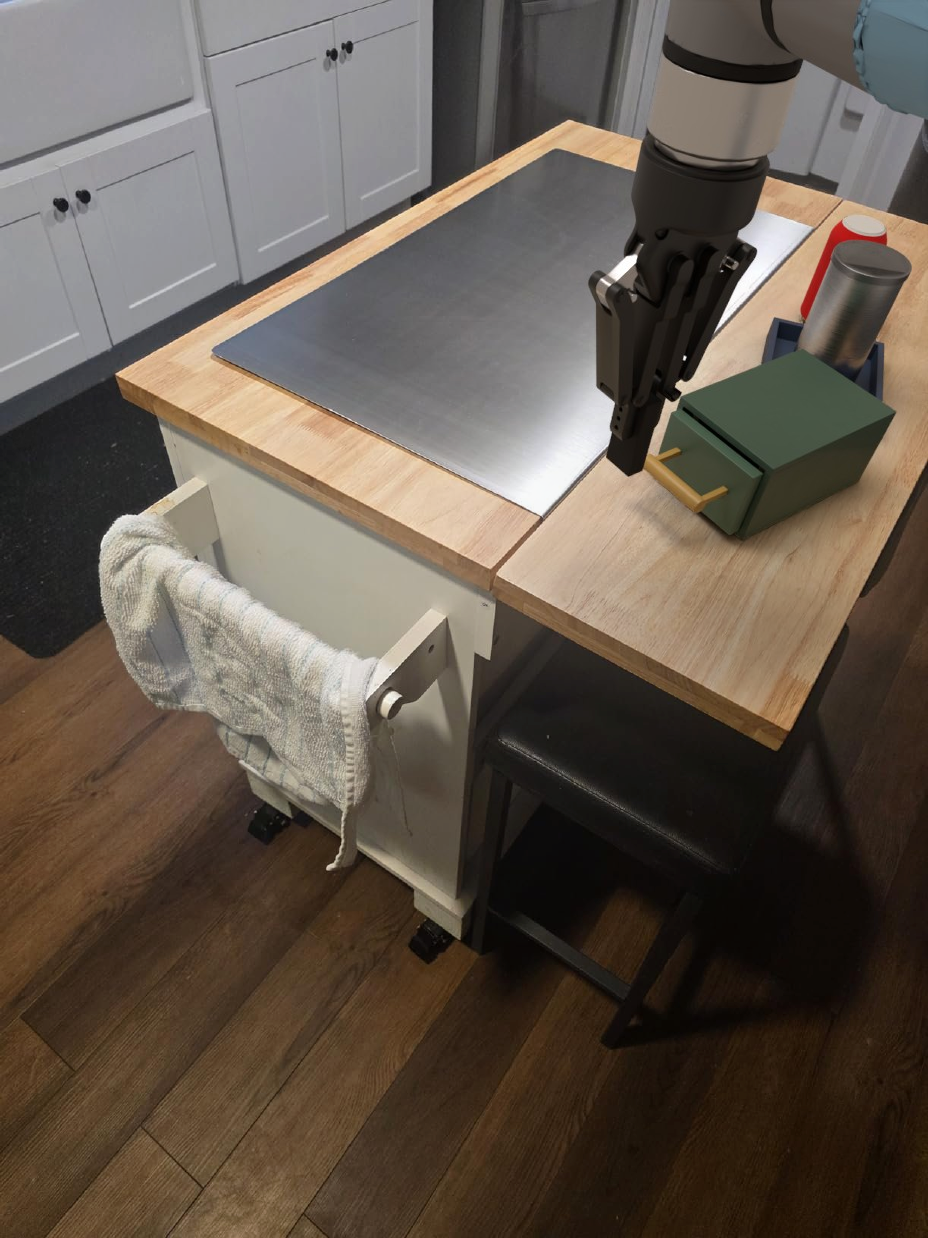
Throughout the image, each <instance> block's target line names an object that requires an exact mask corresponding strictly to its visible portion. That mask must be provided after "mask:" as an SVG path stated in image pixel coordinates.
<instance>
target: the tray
mask: <svg viewBox="0 0 928 1238" xmlns="http://www.w3.org/2000/svg"><path fill="white" fill-rule="evenodd" d="M804 324H805V323H801V322H797V321H793V320H789V319H784V318H780V317H776V316H774V317H773V319H772V322H771V324H770V326H769V329H768V332H767V334H766V337H765V342H764V347H763V352H762V358H761V362H760V365H762V364H764V363H767V362H769V361H772V360H774V359H777V358H780V357H782V356H785V355H787V354H790V353H792V352H793V351H794V348H795V346H796V344H797V341H798V339H799V336H800V334H801V331H802V329H803V327H804ZM884 369H885V343H884V342H882V341H878V340H876V341H875V343H874V345H873V347H872V349H871V351H870V353H869V355H868V357H867V359H866V361H865V363H864V365H863V367H862V369H861V371H860V373H859V375H858V377H857V379H856V381H855V384H856V385H858V386H859V387H861V388H862V389H864V390H865V391H867V392H868V393H870V394H871V395H873V396H874V397H876V398H877V399H879V400H880V401H882V402H883V403H884V373H885V371H884Z"/></svg>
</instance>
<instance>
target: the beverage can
mask: <svg viewBox="0 0 928 1238" xmlns="http://www.w3.org/2000/svg"><path fill="white" fill-rule="evenodd" d="M849 240H865V241H871V242H876V243H880V244H883V245H886V246H888V233H887V227H886V226H885V225H884V224H883V222H881V221H880V220H878V219H877V218H875V217H872V216H868V215H864V214H850V215H848V216H844V217H843V218H842V219H840V221H839V222H838V223H836V224H835V225H834V227H833V228H832V229H831V230H830V233H829V235H828V238H827V240H826V242H825V245H824V248H823V251H822V253H821V255H820V258H819V260H818V262H817V265H816V267H815V270H814V272H813V276H812V278H811V280H810V283H809V285H808V288H807V291H806V292H805V294H804V298H803V299H802V302H801V305H800V309H799V311H800V312H799V313H800V315H801V318H802V319H803V321H805V322H806V319H807V317H808V315H809V312H810V310H811V307H812V305H813V302H814V300H815V298H816V295H817V293H818V290H819V288H820V285H821V283H822V281H823V278H824V276H825V273H826V271H827V268H828V266H829V264H830V261H831V255H832V252H833V250H834V248H835V246H836V245H837V244H839V243H841V242H844V241H849Z"/></svg>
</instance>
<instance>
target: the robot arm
mask: <svg viewBox="0 0 928 1238" xmlns="http://www.w3.org/2000/svg"><path fill="white" fill-rule="evenodd" d="M663 36H664V37H663V41H662V49H661V51H660V57H659V61H658V65H657V70H656V75H655V80H654V85H653V88H652V89H653V90H652V94H651V99H650V104H649V109H648V114H647V119H646V122H645V125H646V128H647V130H648V132H649V133H648V135H647V136H645V137H644V138H643V140H642V141H641V144H640V147H639V148H640V149H639V153H638V158H637V163H636V167H635V172H634V177H633V182H632V187H631V192H630V197H631V198H630V199H631V202H632V208H633V210H634V216H635V221H634V222H635V223H634V226H633V229H632V231H631V233H630V235H629V237H628V238H627V239H626V242H625V243H624V247H623V259H621V261H620V262H618V263H617V265H615V267H613V268H612V269H611V270H610V271H609V272H608V273H606V272H603V271H602V270H599V269H598V270H595V271H594V272H593V273H592V274H590V276H589V278H588V282H587V285H588V286H587V287H588V288H589V291H590V293H591V295H592V298H593V300H594V302H595V374H596V375H595V386H596V388H597V389H598V390H599V391H600V392H601V393H602V394H603V395H605V396H606V397H607V398H608V399H610V400H611V401H612V402H613V403H614V405H613V410H612V414H611V418H610V419H611V420H610V422H609V431H610V432H611V434H610V438H609V442H608V446H607V449H606V455H605V458H606V459H607V460H608V461H609V462H610V463H611V464H613V466H615V468H617V469H618V470H620V472H621V473H623V474H624V475H625V476H626V477H628V478H629V477H632V476H634V475H637V474H639V473H641V472H643V470H644V469H643V467H644V464H645V460H646V457H647V455H648V454H649V450H650V446H651V442H652V439H653V436H654V432H655V429H656V428H657V426H658V424H659V422H660V420H661V418H662V413H663V410H664V407H665V403H666V400H667V401H669V402H670V403H675V402H676V401H679V400H680V397H681V396H682V394H683V392H682V391H681V390H680V389H678V388H677V387H676V386H677V383H679V382H680V381H682V382H683V383H687V382H689V381H691V380H692V378H694V376H695V374H696V372H697V370H698V368H699V366H700V364H701V361H702V359H703V358H704V355H705V354H706V351H707V349H708V347H709V344H710V343H711V340H712V338H713V336H714V334H715V333H716V329H717V328H718V326H719V324H720V321H721V320H722V317H723V315H724V313H725V311H726V309H727V307H728V306H729V303H730V300H731V298H732V296H733V295H734V293H735V290H736V288H737V285H738V284H739V282H740V281H741V280H742V278H743V276H744V275H745V274H746V273H747V270H749V268H750V266H751V265H752V264H753V262H754V261H755V259H756V257H757V255H758V249H757V247H755V246H753V245H752V244H750V243H749V242H747V241H745V240H744V239H741V238H740V237H738V236H739V232H740V231H741V230H743V229H745V228H746V227H747V226H748V225H749V224H750V223H751V222H752V220H753V219H754V218H755V213H756V212H757V208H758V205H759V202H760V199H761V195H762V192H763V189H764V187H765V183H766V179H767V177H768V174H769V171H770V166H771V162H770V159H769V157H768V155H769V154H771V153H772V152H774V151H775V149H776V148H777V146H778V145H779V142H780V139H781V137H782V133H783V129H784V126H785V122H786V119H787V117H788V113H789V110H790V106H791V104H792V103H791V102H792V99H793V96H794V93H795V90H796V87H797V83H798V80H799V77H800V74H801V69H802V66H803V63H804V61H805V62H807V63H809V64H811V65H813V66H815V67H817V68H818V69H820V70H823V71H825V72H826V73H828V74H830V75H832V76H834V77H836V78H838V79H840V80H842V81H844V82H845V83H847V84H849V85H851V86H853V87H855V88H856V89H858V90H861V91H862V92H864V93H866V94H868V95H870V96H872V97H873V99H874V100H875V101H876V102H877V103H878V104H880V105H886V106H887V107H888V109H889V110H892V111H893V112H895V113H896V112H897V113H900V114H904V115H909V114H910V115H912V116H916V117H918V118H921V119H924V120H926V121H928V0H670V5H669V10H668V14H667V20H666V25H665V29H664V35H663Z"/></svg>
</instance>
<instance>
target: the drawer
mask: <svg viewBox="0 0 928 1238" xmlns="http://www.w3.org/2000/svg"><path fill="white" fill-rule="evenodd" d="M643 470H644V471H645V472H646V473H647V474H649V476H651V477H652V478H654V480H656V481H657V482H658V483H659V484H660V485H661V486H663V487H664V488H665V489H666V490H667V491H668V492H670V493H671V494H672V495H673V496H674V497H675V498H677V500H678V501H680V502H681V503H682V504H683V505H685V506H686V507H687V508H688V509H689V510H690V511H692V512H693V513H694V514H698V513H700V512H701V513H703V515H705V516H706V517H707V518H708V519H709V520H711V521H712V522H713V523H714V524H715V525H716V526H718V527H719V528H720V529H721V530H722V531H724V533H726V534H727V535H728V536H731V535H733V534H734V533H735V532H737V531H738V530H739V528H740V526H741V523H742V521H743V520H744V518H745V516H746V514H747V512H748V509H749V507H750V505H751V502H752V500H753V498H754V496H755V493H756V491H757V489H758V486H759V484H760V482H761V480H762V477H763V475H764V473H765V470H764V469H763V468H761V467H760V466H759V465H758V464H756V463H755V462H754V461H753V460H751V459H750V458H749V457H747V456H746V455H745V454H744V453H742V452H741V451H740V450H739V449H737V448H736V447H735V446H733V445H732V444H731V443H730V442H728V441H727V440H726V439H725V438H723V437H722V436H721V435H719V434H718V433H717V432H716V431H714V430H713V429H712V428H711V427H709V426H708V425H707V424H705V423H704V422H703V421H702V420H700V419H699V418H698V417H697V416H695V415H694V414H693V416H692V417H691V416H689V415H688V414H687V413H685V412H684V411H683V410H682V409H678V410H674V411H671V412H670V414H669V417H668V422H667V424H666V427H665V431H664V434H663V438H662V441H661V444H660V447H659V451H658V453H657V455H655V456H654V455H653V454H652V453H647V457H646V460H645V464H644V467H643Z"/></svg>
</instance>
